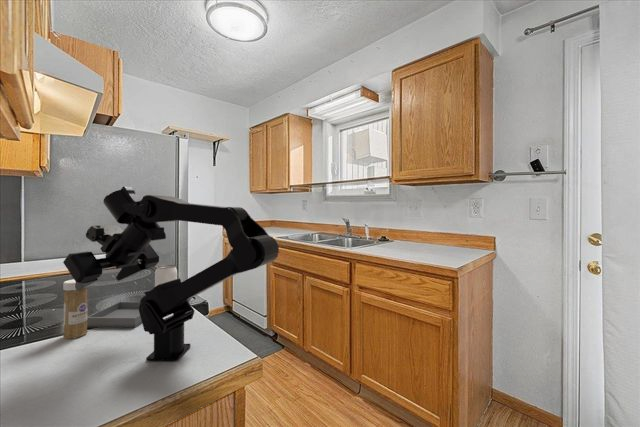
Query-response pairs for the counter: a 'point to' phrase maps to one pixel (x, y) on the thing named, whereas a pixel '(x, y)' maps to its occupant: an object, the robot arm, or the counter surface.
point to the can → (165, 274)
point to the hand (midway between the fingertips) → (98, 283)
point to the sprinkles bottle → (74, 310)
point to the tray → (116, 316)
